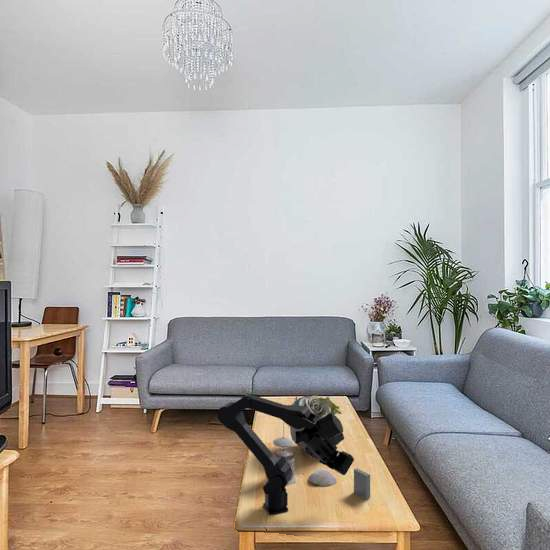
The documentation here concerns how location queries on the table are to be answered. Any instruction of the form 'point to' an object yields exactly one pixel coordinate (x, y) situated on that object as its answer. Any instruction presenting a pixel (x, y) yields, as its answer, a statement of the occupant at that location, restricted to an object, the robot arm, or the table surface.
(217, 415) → the robot arm
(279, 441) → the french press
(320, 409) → the flower arrangement
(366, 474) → the glazed tile
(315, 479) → the seashell
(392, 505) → the table surface
